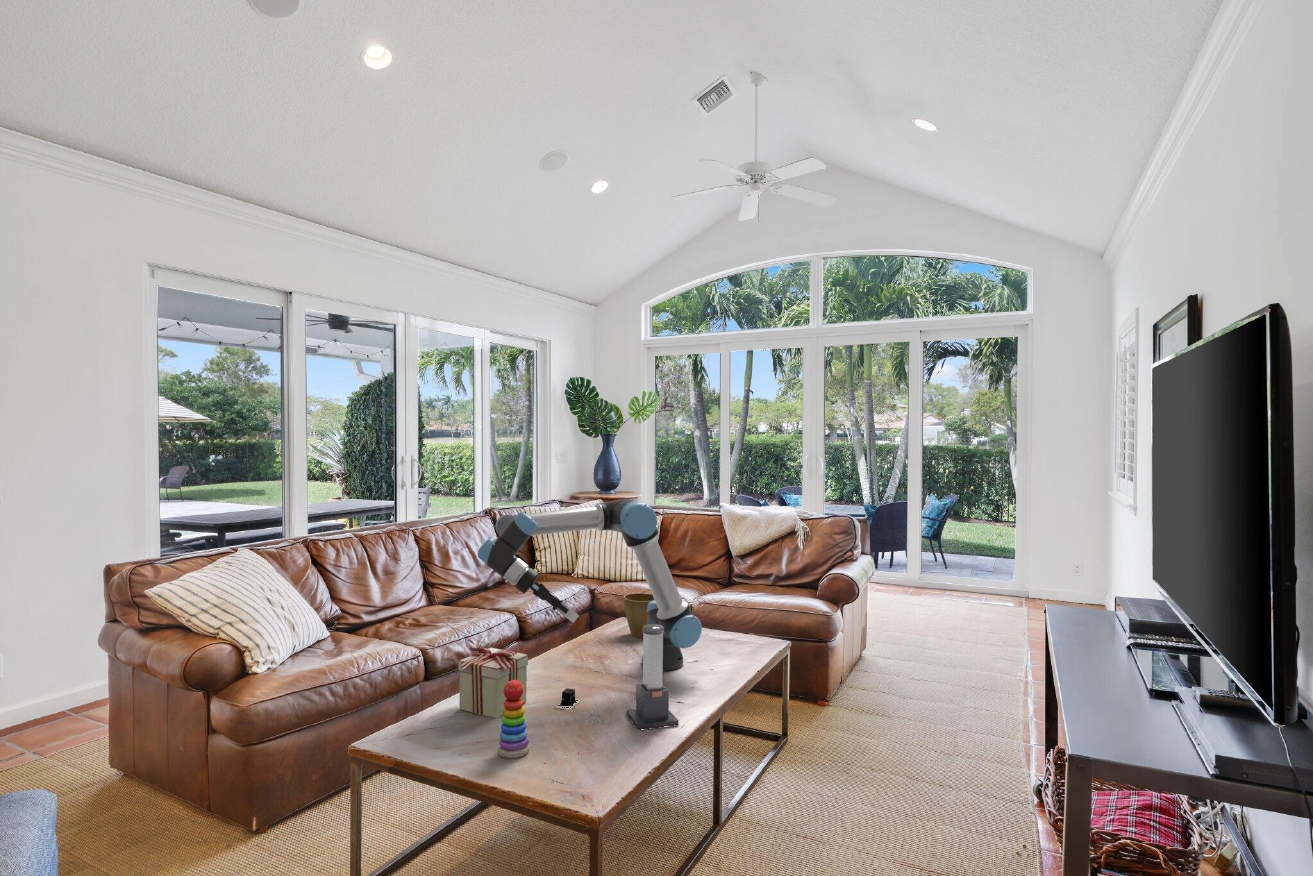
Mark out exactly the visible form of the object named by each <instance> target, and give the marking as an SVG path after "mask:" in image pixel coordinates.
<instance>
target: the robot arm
mask: <svg viewBox="0 0 1313 876" xmlns="http://www.w3.org/2000/svg"><path fill="white" fill-rule="evenodd" d="M657 525H658V516H657V514H656V512H655V510H654V509H653V508H652V506H650V505H649V504H647V503H644V502H643V501H636V500H631V499H626V498H625V499H624V498H623V499H617V500H612V501H606V502H598V503H595V505H593V506H590V507H587V506H586V507H580V508H579V507H578V508H569V509H561V510H551V511H542V512H531V513H530V512H529V513H525V512H524V511H519V512H518V513H517V514H513V515H512V514H503V515H501V516H500V517H499V518H498V519H496V523H495V530H496V532H497V534H498V535H499V536H498V537H497V538H494V537H489V538H488V539H486V540H485V542H484V543H483V544H482V545H481V546H480V548H479V549H478V551H477V553H476V554H477V557H478V559H479V560H480V561H481V562H483V563H484V565H486V566H487V567H488V568H490V569H491V570H493V571H494V572H495V573H497V574H498V575H499V576H500V577H501V578H503V579H505V580H504V582H505V583H506V584H507V583H509V584H510V585H512V586H514V585H515V588H516V589H517V590H518V591H519V592H520V593H522V594H526V593H527V592H528V591H529V590H530V589H531V590H532V591H533V592H532V594H533V595H534V596H535V597H537V598H539V599H540V600H542V601H545V602H547V603H548V604H549V605H550V606H551V607H552V608H551V609H552V610H553V611H556V610H557V612H558V613H560V614H561V615H562V616H564V617H565V618H566V619H567V620H568V621H570V622H571V623H572V624H574V623H575V622H576V620H577V619H578V618H579V616H580V614H578V613H576V611H575V610H573V609H572V608H571V607H569V606H568V605H567V604H565V602H564V601H563V600H562V599H561V600H560V599H559V598H558V597H556V596H554V595H553V594H552V593H551V592H550V590H549V589H548V588H547V587H546V586H545V585H544V584H543V583H541V582H540V583H539V582H537V580H538V579H539V577H540V574H539V572H537V571H536V570H534V568H532V567H529V564H528V563H526V562H524V560H522V559H521V558H519V557H518V556H516V554H517V553H519V551H520V550H521V548H522V547H523V546H524V545H525V544H526V543H527V541H528V540H529V539H530V537H534V536H540V535H541V536H543V535H551V534H559V533H568V532H574V531H577V532H578V531H586V530H593V529H597V531H599V532H601V531H613V532H618V533H621V535H622V537H623V540H624V542H625V544H626V546H627V547H628V548H630V549H632V550H633V551H634V554H635V557H636V559H637V561H638V564H639V567H640V569H641V571H642V573H643V575H644V578H645V581H646V583H647V585H648V587H649V590H650V592H651V594H652V595H653V597H654V599H655V601H651V602H649V603H648V608H647V625H648V624H658V625H662V626H663V627H664V632H663V671H672V670H678V669H681V668H682V667H683V666H684V656H683V652H682V649H688V648H691V647H693V646H694V645H695V644H697V643H698V641H699V639H700V638H701V635H702V632H703V626H702V623H701V620H700V619H699V618H698V617H697V616H696V615H694V614H693V612H692V609H691V607H690V605H689V602H688V601H687V600H684V599H682V597H681V594H680V592H679V590H678V588H677V585H676V583H675V581H674V577H673V575H672V573H671V571H670V568H669V566H668V563H667V561H666V559H665V555H664V554H663V551H662V549H661V546H660V545H659V542H658V536H659V534H660V533H659V531H658V528H657ZM641 665H642V666H643V655H642V657H641Z"/></svg>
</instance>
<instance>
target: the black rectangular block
mask: <svg viewBox="0 0 1313 876" xmlns="http://www.w3.org/2000/svg"><path fill="white" fill-rule="evenodd" d="M575 699H576V689H575V688H568V687H567V688H565V689H563V691H562V692H561V701H560V702H561V703H560V702H559V703H560V705H558V704H557V705H558V706H573V704H574V703H577V702H576V701H578V700H575ZM562 708H563V707H562ZM564 708H565V707H564ZM566 708H569V707H566ZM570 708H571V707H570Z"/></svg>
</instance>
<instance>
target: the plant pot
mask: <svg viewBox="0 0 1313 876" xmlns="http://www.w3.org/2000/svg"><path fill="white" fill-rule="evenodd" d="M651 601H655V599H654V597H653V595H652V593H644V592H643V593H642V592H641V593H640V592H635V593H628V594H625V595H624V596H623V605H624V611H625V616H626V621H627V625H628V627H629V631H630V634H631V636H632V637H634V636H636V637H635V638H643V626H644V625H647V608H648V603H649V602H651Z"/></svg>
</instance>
